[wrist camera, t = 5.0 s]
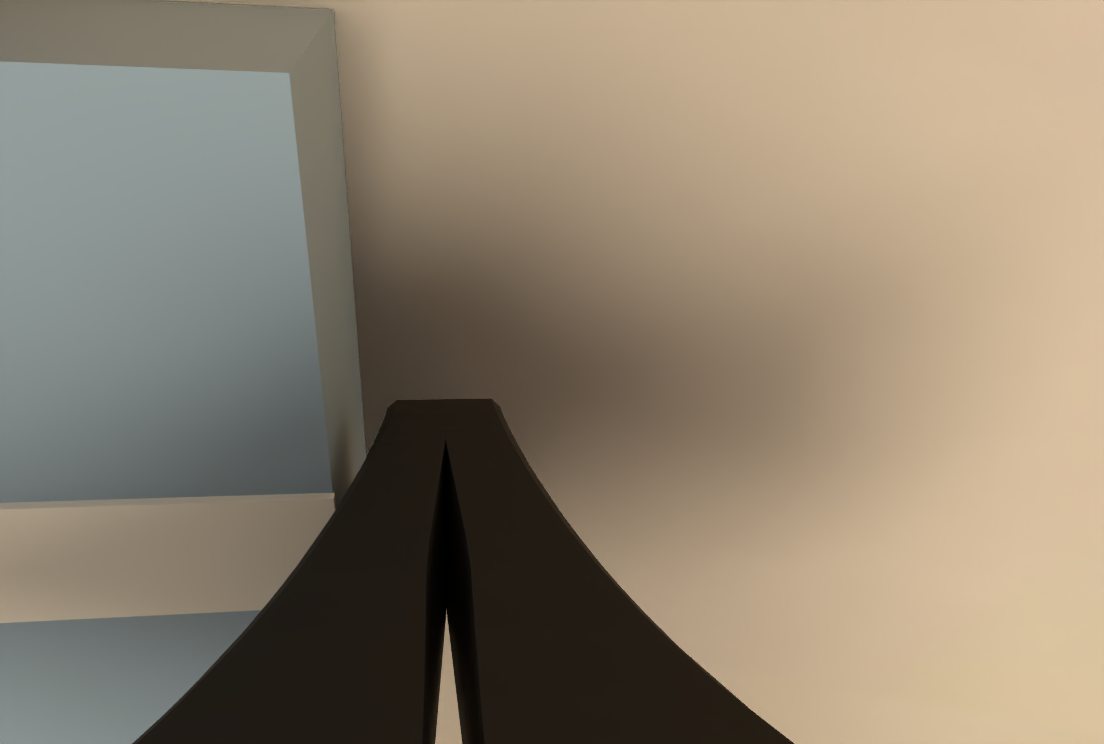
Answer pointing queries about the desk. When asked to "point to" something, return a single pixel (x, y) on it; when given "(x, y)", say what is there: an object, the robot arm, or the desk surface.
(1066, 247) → the desk surface
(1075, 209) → the desk surface
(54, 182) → the carton
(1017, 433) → the desk surface
